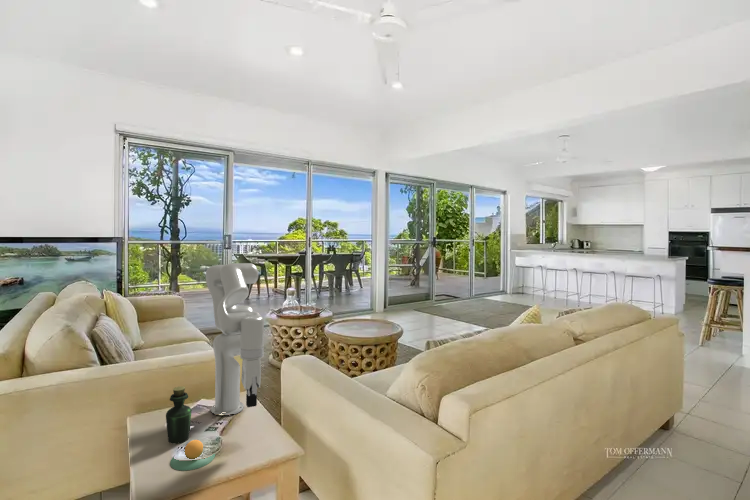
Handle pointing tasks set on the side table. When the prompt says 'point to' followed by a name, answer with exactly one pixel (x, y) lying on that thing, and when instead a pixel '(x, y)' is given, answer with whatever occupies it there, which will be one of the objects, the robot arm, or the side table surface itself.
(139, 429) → the side table surface
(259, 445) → the side table surface
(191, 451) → the ball
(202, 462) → the disc
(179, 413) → the potion bottle
